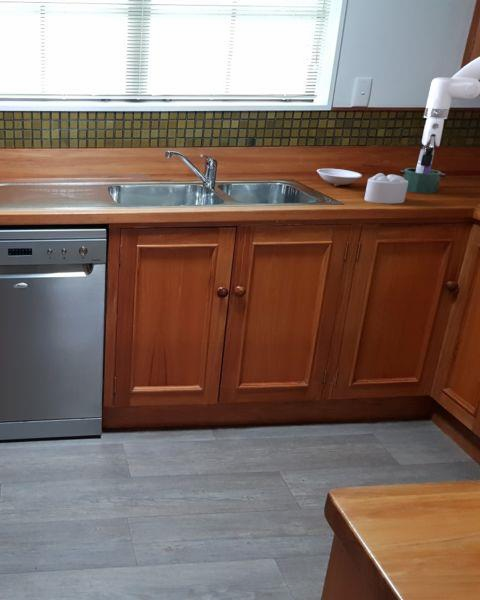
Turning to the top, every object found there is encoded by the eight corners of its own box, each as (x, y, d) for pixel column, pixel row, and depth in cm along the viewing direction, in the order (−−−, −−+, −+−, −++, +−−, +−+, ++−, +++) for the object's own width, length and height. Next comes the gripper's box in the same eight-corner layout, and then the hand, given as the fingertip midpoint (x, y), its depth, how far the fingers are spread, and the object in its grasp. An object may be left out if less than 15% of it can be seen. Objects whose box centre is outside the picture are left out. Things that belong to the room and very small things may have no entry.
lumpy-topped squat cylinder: (408, 202, 211) (414, 177, 208) (376, 204, 208) (382, 179, 205) (387, 195, 221) (392, 171, 217) (356, 197, 217) (361, 173, 214)
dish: (368, 188, 231) (371, 175, 229) (341, 191, 225) (344, 178, 223) (332, 179, 246) (334, 167, 244) (305, 182, 240) (308, 170, 238)
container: (424, 189, 232) (433, 149, 226) (426, 191, 228) (436, 151, 222) (410, 188, 233) (419, 148, 227) (412, 190, 229) (421, 150, 223)
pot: (438, 188, 233) (442, 169, 230) (443, 195, 223) (448, 175, 220) (395, 185, 238) (399, 166, 235) (398, 191, 228) (402, 172, 225)
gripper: (451, 116, 211) (438, 169, 218) (444, 112, 226) (432, 161, 233) (427, 115, 213) (415, 167, 221) (421, 111, 228) (410, 160, 235)
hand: (424, 164), depth 227 cm, fingers closed on container, 4 cm apart
